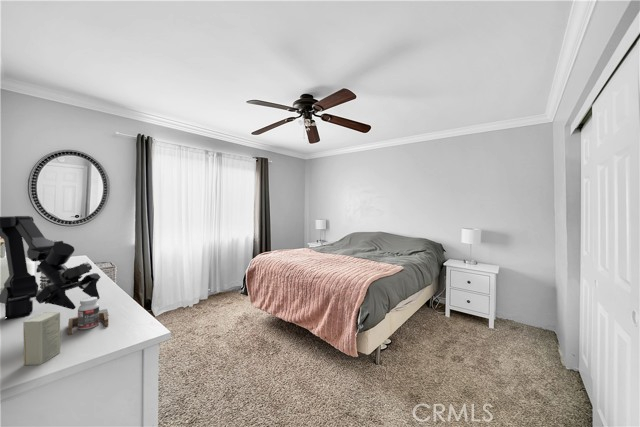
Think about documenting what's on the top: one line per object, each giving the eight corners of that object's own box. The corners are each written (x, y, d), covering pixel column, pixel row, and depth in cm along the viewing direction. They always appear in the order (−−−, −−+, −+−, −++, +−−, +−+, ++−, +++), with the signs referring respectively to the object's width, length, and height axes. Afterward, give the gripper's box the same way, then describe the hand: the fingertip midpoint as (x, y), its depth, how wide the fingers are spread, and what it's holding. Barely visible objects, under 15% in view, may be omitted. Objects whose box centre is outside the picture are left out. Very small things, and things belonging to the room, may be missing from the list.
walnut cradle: (67, 335, 86) (67, 327, 86) (68, 325, 93) (68, 318, 93) (108, 325, 93) (108, 319, 93) (106, 317, 100) (106, 311, 100)
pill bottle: (86, 330, 89) (86, 302, 89) (73, 329, 91) (73, 301, 90) (103, 323, 95) (103, 297, 95) (90, 322, 96) (90, 295, 96)
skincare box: (45, 352, 76) (44, 312, 75) (61, 352, 76) (61, 311, 76) (22, 365, 69) (22, 321, 69) (40, 365, 70) (39, 321, 70)
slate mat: (81, 321, 96) (81, 320, 96) (81, 314, 102) (81, 313, 102) (108, 315, 102) (108, 314, 102) (107, 309, 108) (107, 308, 108)
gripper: (43, 262, 83) (76, 297, 83) (95, 252, 102) (123, 280, 102) (20, 286, 84) (53, 320, 83) (76, 272, 102) (103, 300, 102)
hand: (87, 303), depth 93 cm, fingers open, 9 cm apart
